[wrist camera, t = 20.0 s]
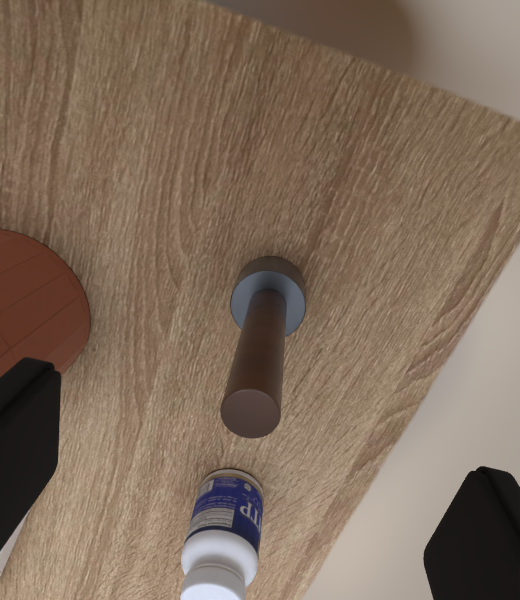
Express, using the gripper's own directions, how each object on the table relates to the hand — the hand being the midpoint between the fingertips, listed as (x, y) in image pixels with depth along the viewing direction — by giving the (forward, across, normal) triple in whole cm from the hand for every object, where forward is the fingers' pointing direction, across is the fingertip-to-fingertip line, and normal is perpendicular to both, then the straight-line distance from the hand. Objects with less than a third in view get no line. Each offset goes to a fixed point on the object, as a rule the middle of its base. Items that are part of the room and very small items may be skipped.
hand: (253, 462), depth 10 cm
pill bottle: (+18, -1, +21) cm, 27 cm away
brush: (+18, 0, +3) cm, 18 cm away
